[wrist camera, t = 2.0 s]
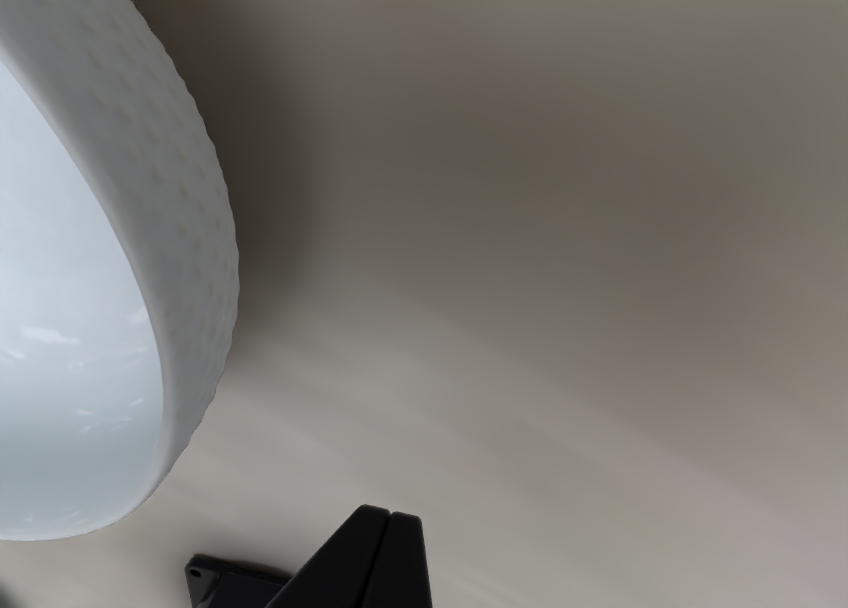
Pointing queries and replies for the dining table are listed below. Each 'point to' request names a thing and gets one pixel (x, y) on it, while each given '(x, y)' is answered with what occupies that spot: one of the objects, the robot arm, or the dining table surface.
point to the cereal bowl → (102, 266)
